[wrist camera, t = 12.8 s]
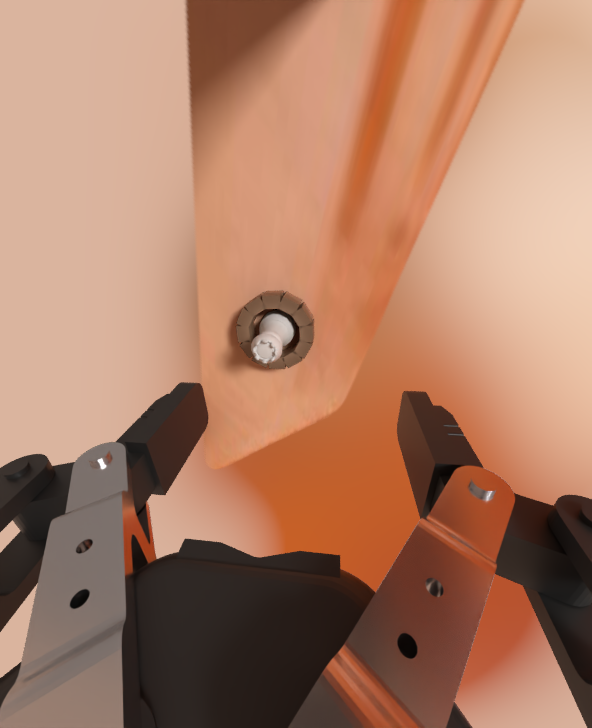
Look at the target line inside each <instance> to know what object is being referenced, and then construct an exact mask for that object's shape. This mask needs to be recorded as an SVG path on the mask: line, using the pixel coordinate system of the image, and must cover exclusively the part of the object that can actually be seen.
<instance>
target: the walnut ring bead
mask: <svg viewBox="0 0 592 728" xmlns="http://www.w3.org/2000/svg"><path fill="white" fill-rule="evenodd" d="M300 303H301V299H300V298H298V297H296V296H294V295H292V294H290V293H289V292H286V293H285V295H284V291H266V292H265V293H264V292H263V293H262V294H260V295H259V296H257V297H256V298H254V299H253V300H251V301H250V302H249V303H248V304H246V305H245V307H244V308H243V309H242V311H241V313H240V316H239V318H238V320H237V324H238V325H237V326H236V331H237V338H238V342H242V343H241V344H240V347H241V348H242V349H243V351H244V352H245V353H246V355H247V356H248V357H249V358H251V357H252V356H254V355H253V353H252V350H251V343H252V341H253V339H254V338H255V337H256V336H257V335H256V334H255V327H254V320H255V318H256V316H257V314H258V313H260V312H261V311H263V310H264V309H280V310H282V311H284V312H286V313H288V314H290V315H291V316H292V317H293V318H294V320H295V321H296V323H297V325H298V326H299V329H300V338H299V340H298V342H297V344H295V345H293V346H292V347H290V348H288V349H286V350H282V354H281V356H280V358H279V359H278V360H276V361H275V362H272V363H269V369H285V368H286V366H287V367H288V368H289V367H291V366H293V365H295V364H297V363H299V362H301V361H302V358H305V356H306V355H307V353H308V351H309V350H310V348H311V346H312V343H313V339H314V319H312V318H313V315H312V314H311V312H310V311H309V309H308V307H307V306H306V304H305V302H304V303H302V304H300ZM254 357H255V356H254ZM254 357H253V359H252V361H254V362H256V363H258V364H260V365H262V366H263V367H265V368H266V367H267V365H268V363H267V364H264V363H262V362H261V361H259V360H258V361H257V360H256V359H255V358H254Z"/></svg>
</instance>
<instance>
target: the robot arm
mask: <svg viewBox="0 0 592 728" xmlns="http://www.w3.org/2000/svg"><path fill="white" fill-rule="evenodd" d="M207 424H208V411H207V407H206V402H205V397H204V393H203V388H202V386H201V384H200V383H184V382H183V383H179V384H178V385H177V386H176V387H175V388H174V389H173V391H172V392H171V393H170V394H166V395H165V396H163V397H161V398H160V399H158V400H156V401H155V402H154V403H153V404H152V405H151V406H150V407H149V408H148V410H147V411H145V413H143V414H142V416H141V418H139V419H138V420H137V421H136V422H135V423H134V424H133V425H132V426H131V427H130V428H129V429H128V430H127V431H126V432H125V433H124V434H123V435H122V436H121V437H120V438H119V439H118V440H117V441H116V442H109V443H104V444H101V445H98V446H95V447H93V448H91V449H90V450H88V451H86V452H85V453H83V454H82V455H81V456H80V457H79V458H78V459H77V460H76V462H73V463H67V464H62V465H56V466H52V465H51V463H50V462H49V460H48V458H47V457H46V456H45V455H42V454H33V455H28V456H24V457H22V458H19V459H16V460H14V461H12V462H10V463H8V464H6V465H4V466H3V467H1V468H0V532H1V531H2V530H3V529H4V528H5V527H6V526H7V525H8V524H9V523H10V522H11V521H12V520H13V521H14V522H15V524H16V525H17V527H18V528H19V529H20V530H21V531H20V533H19V534H18V535H17V536H16V537H15V538H14V539H13V540H12V541H11V542H10V543H9V544H8V545H7V546H6V548H4V549H3V551H2V552H1V553H0V632H1V630H2V629H3V628H4V626H5V625H6V624H7V622H8V621H9V620H10V619H11V617H12V616H13V615H14V613H15V612H16V611H17V609H18V608H19V607H20V605H21V604H22V603H23V601H24V600H25V599H26V598H27V596H28V595H29V594H30V592H31V591H32V590H33V588H34V587H35V586H36V584H37V583H38V585H37V590H36V594H35V599H34V604H33V609H32V614H31V618H30V623H29V629H28V633H27V638H26V643H25V648H24V652H23V657H22V662H20V663H19V664H18V665H17V666H15V667H14V668H13V669H12V670H10V671H9V672H8V673H6V674H5V675H4V676H3V677H1V678H0V728H472V726H471V725H470V724H469V722H468V721H467V719H466V718H465V716H464V715H463V714H462V712H461V711H460V709H459V708H458V706H457V705H456V704H455V702H454V701H455V698H456V695H457V692H458V688H459V685H460V682H461V678H462V676H463V672H464V669H465V666H466V663H467V660H468V657H469V654H470V651H471V647H472V644H473V641H474V638H475V635H476V631H477V628H478V625H479V622H480V619H481V616H482V613H483V609H484V606H485V603H486V600H487V597H488V594H489V590H490V587H491V584H492V581H493V578H494V575H495V574H497V575H499V576H501V577H504V578H506V579H508V580H511V581H513V582H516V583H518V584H521V585H523V587H524V589H525V591H526V594H527V596H528V598H529V600H530V602H531V604H532V607H533V609H534V611H535V613H536V616H537V618H538V620H539V622H540V624H541V627H542V629H543V631H544V633H545V635H546V637H547V640H548V642H549V644H550V646H551V648H552V651H553V653H554V655H555V657H556V660H557V662H558V664H559V666H560V668H561V670H562V673H563V675H564V677H565V679H566V682H567V684H568V686H569V688H570V690H571V692H572V695H573V697H574V699H575V701H576V704H577V706H578V708H579V710H580V712H581V715H582V717H583V719H584V721H585V723H586V726H587V728H592V499H589V498H586V497H582V496H577V495H564V496H561V497H560V498H558V500H557V501H556V503H555V504H554V506H553V505H549V504H546V503H543V502H539V501H536V500H533V499H530V498H526V497H523V496H520V495H518V494H515V493H514V492H513V490H512V489H511V487H510V486H509V485H508V484H507V482H506V481H504V480H503V479H502V478H501V477H500V476H498V475H497V474H495V473H493V472H491V471H489V470H487V469H484V468H483V466H482V464H481V463H480V461H479V459H478V458H477V456H476V454H475V452H474V451H473V449H472V448H471V446H470V444H469V442H468V441H467V439H466V437H465V436H464V434H463V432H462V431H461V429H460V428H459V427H458V424H457V422H456V420H455V419H454V417H453V415H452V414H450V413H449V412H448V411H447V410H446V409H444V408H443V407H442V406H433V404H432V403H431V401H430V399H429V397H428V395H427V393H426V392H416V391H404V392H403V395H402V400H401V406H400V412H399V418H398V424H397V434H398V441H399V445H400V448H401V451H402V455H403V459H404V462H405V466H406V469H407V473H408V476H409V479H410V484H411V487H412V491H413V494H414V498H415V501H416V505H417V508H418V512H419V515H420V519H421V520H420V521H419V522H418V524H417V526H416V527H415V529H414V531H413V532H412V534H411V535H410V537H409V539H408V540H407V542H406V544H405V545H404V547H403V549H402V550H401V552H400V554H399V555H398V557H397V558H396V560H395V562H394V563H393V565H392V567H391V568H390V570H389V572H388V573H387V575H386V577H385V578H384V580H383V581H382V583H381V585H380V586H379V588H378V590H377V591H376V592H374V591H373V590H372V589H371V588H370V587H369V586H368V585H367V584H365V583H364V582H363V581H361V580H360V579H359V578H357V577H355V576H354V575H352V574H350V573H348V572H346V571H344V570H341V569H340V555H332V554H323V553H313V552H304V551H297V552H291V553H285V554H279V555H273V556H268V557H262V558H258V557H253V556H251V555H249V554H246V553H244V552H242V551H239V550H237V549H235V548H233V547H230V546H228V545H226V544H223V543H221V542H212V541H202V540H193V539H185V540H184V542H183V544H182V546H181V548H180V550H179V552H177V553H173V554H169V555H166V556H164V557H161V558H159V559H156V554H155V548H154V541H153V533H152V526H151V517H150V510H149V505H148V502H147V500H148V498H149V497H150V496H151V494H156V495H166V493H167V491H168V490H169V488H170V486H171V485H172V483H173V481H174V480H175V478H176V476H177V475H178V473H179V472H180V470H181V468H182V467H183V465H184V463H185V462H186V460H187V458H188V456H189V455H190V454H191V452H192V450H193V449H194V447H195V445H196V444H197V442H198V440H199V439H200V437H201V436H202V434H203V432H204V431H205V429H206V427H207Z"/></svg>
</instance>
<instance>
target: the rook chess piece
mask: <svg viewBox="0 0 592 728" xmlns="http://www.w3.org/2000/svg"><path fill="white" fill-rule="evenodd" d="M295 331H296V326H295V323H294V320H293V319H292V318H291V317H290V315H289V314H287V313H285V312H283V311H276V310H275V311H272V312H268V313H267V314H266V315H265V316H264V317H263V319H262V321H261V323H260V325H259V333H260V335H258V336H256V337H255V338H254V339H253V341H252V343H251V350H252V353H253V355H254V356H255V357H254V358H255V359H256V360H257V361H258V360H259V361H261V362H262V363H264V364H267V363H272V362H275V361H276V360H278V359H279V358H280V356H281V354H282V347H283V346H286V345H287V344H288V343H289V342H291V340H292V339H293V337H294V335H295Z"/></svg>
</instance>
